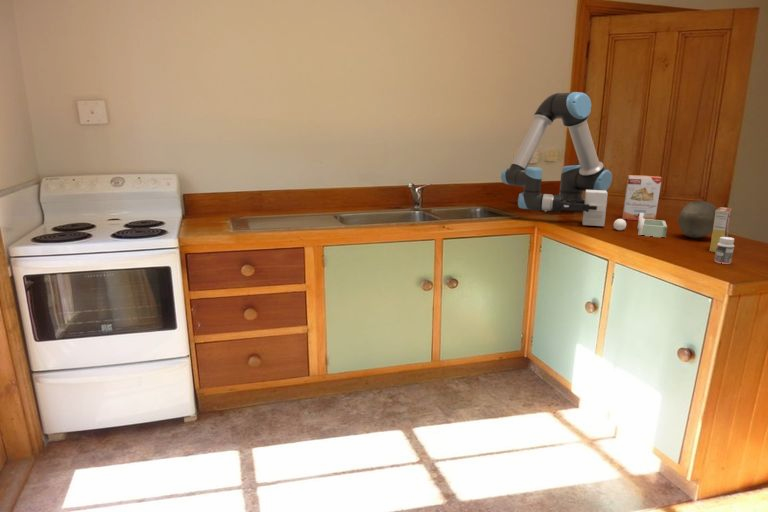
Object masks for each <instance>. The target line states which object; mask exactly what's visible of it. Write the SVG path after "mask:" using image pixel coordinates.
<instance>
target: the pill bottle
mask: <svg viewBox="0 0 768 512" xmlns="http://www.w3.org/2000/svg"><path fill="white" fill-rule="evenodd" d="M719 241H720V242H719V243H718V244H717V249H716V252H715V254H714V262H715V263H717V264H721V263H722V264H723V265H730V264H731V263H732V259H733V255H734V249H735V245H734V243H735V238H734V237H729V236H727V237H720V240H719ZM722 264H721V265H722Z"/></svg>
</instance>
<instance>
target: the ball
mask: <svg viewBox="0 0 768 512" xmlns="http://www.w3.org/2000/svg"><path fill="white" fill-rule="evenodd" d="M626 227H627V222H626V219H623V218H617V219H616V220H615V221H614V222H613V228H614V229H615V230H617V231H623V230H625V229H626Z"/></svg>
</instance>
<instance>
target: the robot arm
mask: <svg viewBox="0 0 768 512" xmlns="http://www.w3.org/2000/svg"><path fill="white" fill-rule="evenodd" d="M591 108H592V101H591V98H590V96H589V95H587V94H586V93H584V92H579V91H573V92H556V93H553V94H551V95H549V96H547V98H545V99H544V100H543V101H542V102H541V103H540V104H539V106H538V107H537V108H536V111H535V112H534V115H532V118H533V119H532V123H531V124H530V126H529V129H528V131H527V132H526V134H525V136H524V138H523V140H522V143H521V144H520V146H519V148H518V151H517V153H515V154H516V155H515V156H514V158H513V160H512V162H511V164H510V166H509V168H505V169H504V170H502V172H501V173H500V179H501V182H502V183H503V184H505V185H508V186H517V187H522V188H523V192H520V193H519V194H518V198H517V206H518V208H519V209H522V210H533V211H544V212H545V213H546V212H548V211H550V212H551V211H552V212H558V213H560V212H562V211H568V212H570V211H572V212H581V211H582V212H583V211H586V212H588V211H603V212H605V207H606V208H607V205H595V204H590V205H588V204H584V200H585V198H584V196H583V194H584V192H585V191H586V190H606V191H608V189H609V188H610V186H611V184H612V181H613V173H612V172H611V171H610V170H609V169H605V166H604V163H603V161H600V160H599V157H598V155H597V151H596V147H595V144H594V140H593V138H592V133H591V130H590V128H589V123H588V119H589V117H590V114H591V111H592V109H591ZM556 119H561V121H562V123H563V124H562V125H563V126H564V127H566V128H568V131H569V134H570V138H571V141H572V144H573V147H574V150H575V153H576V156H577V160H578V162H579V164H578V165H565V166H564V165H563V167H562V169H561V173H560V182H559V194H554V195H553V194H551V193H550V194H549V193H541V191H542V189H541V188H542V180H543V169H542V167H535V166H531V167H529V165H530V162H531V161H532V159H533V157H534V155H535V153H536V151H537V149H538V147H539V145H540V143H541V141H542V139H543V137H544V136H545V133H546V132H547V129H548V127H549V126H551V125H553V122H554V121H555V120H556Z"/></svg>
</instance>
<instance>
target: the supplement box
mask: <svg viewBox="0 0 768 512" xmlns="http://www.w3.org/2000/svg"><path fill="white" fill-rule="evenodd" d="M584 192H585V193H584V204H588V205H590V204H595V205H606V207H605V212H603V211H588V212H586V211H582V220H581V222H582V225H583V226H595V227H605V224H606V223H605V221H606V213H607V205H608V194H609V193H608V190H586V191H584Z"/></svg>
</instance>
